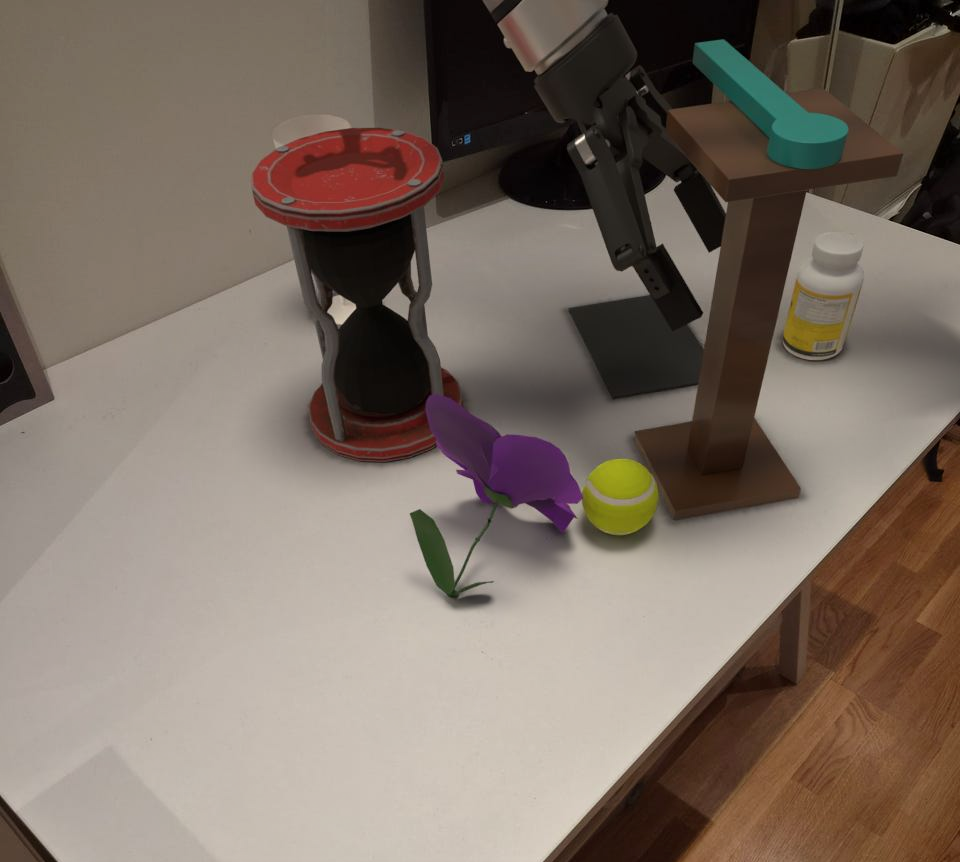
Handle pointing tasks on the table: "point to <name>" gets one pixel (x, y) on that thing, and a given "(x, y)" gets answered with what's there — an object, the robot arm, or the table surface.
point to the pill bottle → (825, 297)
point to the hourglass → (363, 280)
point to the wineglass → (305, 128)
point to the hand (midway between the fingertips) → (706, 281)
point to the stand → (746, 302)
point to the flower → (493, 479)
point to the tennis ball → (620, 496)
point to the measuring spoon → (772, 109)
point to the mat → (638, 347)
